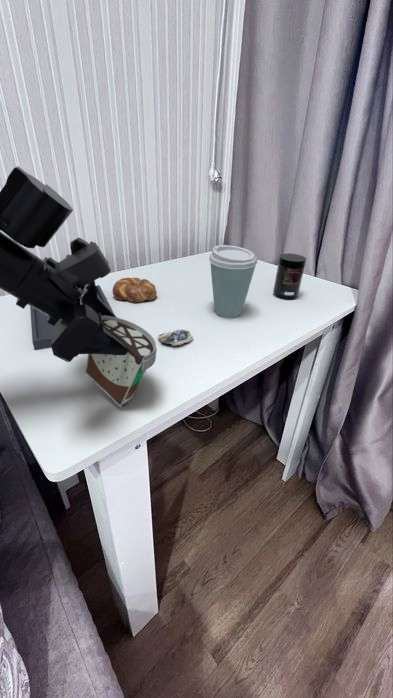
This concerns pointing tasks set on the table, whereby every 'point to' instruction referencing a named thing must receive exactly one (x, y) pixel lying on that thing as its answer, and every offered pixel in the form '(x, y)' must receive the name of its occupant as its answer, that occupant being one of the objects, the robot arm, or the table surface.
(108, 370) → the food container
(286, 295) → the supplement container
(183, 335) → the crystal geode
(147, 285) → the pretzel
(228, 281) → the disposable coffee cup
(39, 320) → the tray
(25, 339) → the table surface
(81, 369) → the table surface
